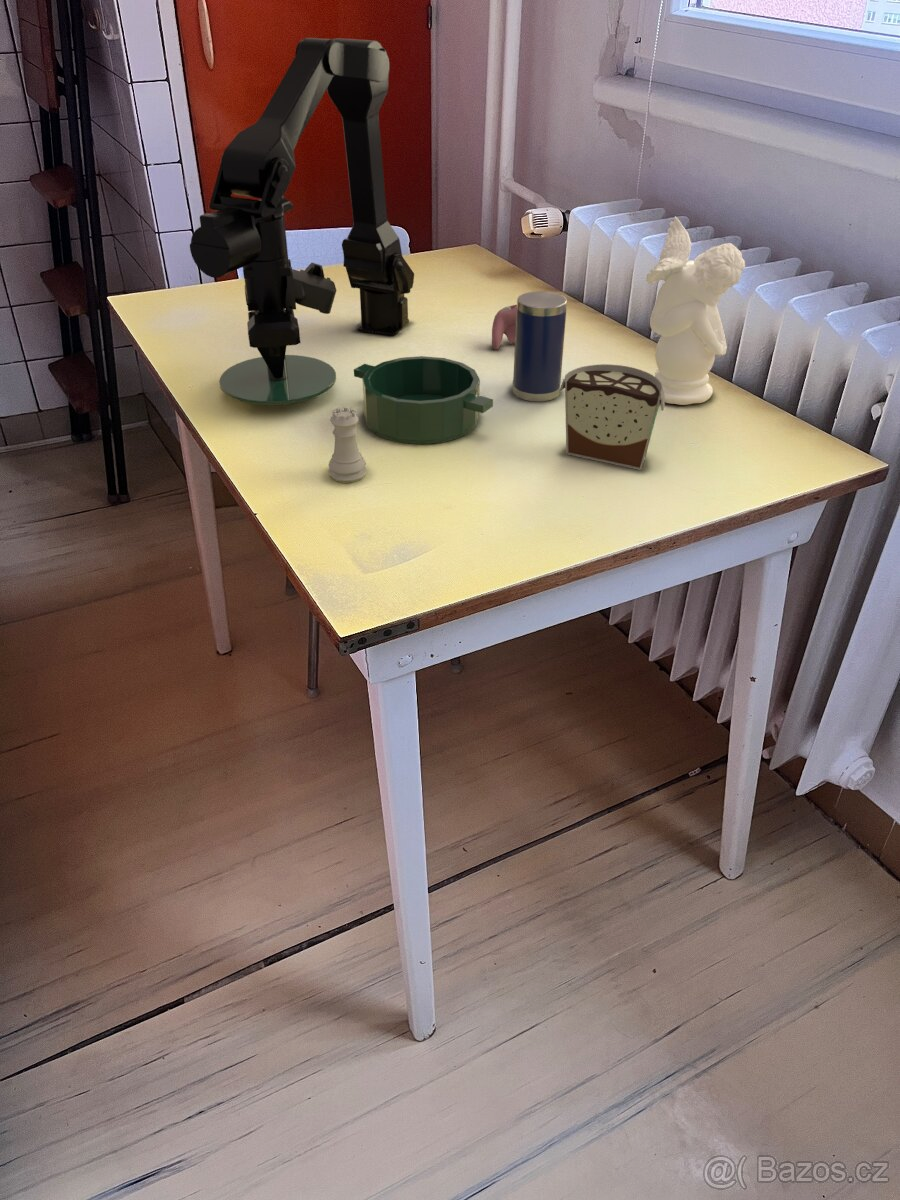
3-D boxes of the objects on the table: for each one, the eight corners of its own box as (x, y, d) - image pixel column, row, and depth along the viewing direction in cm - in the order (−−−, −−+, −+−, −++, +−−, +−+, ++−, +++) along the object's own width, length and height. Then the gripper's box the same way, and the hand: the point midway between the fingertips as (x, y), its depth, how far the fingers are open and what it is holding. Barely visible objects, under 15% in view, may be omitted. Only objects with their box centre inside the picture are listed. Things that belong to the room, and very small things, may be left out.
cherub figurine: (731, 401, 126) (764, 232, 113) (658, 421, 121) (684, 246, 108) (672, 370, 135) (696, 209, 121) (602, 387, 130) (620, 222, 117)
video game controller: (555, 354, 143) (559, 306, 142) (556, 351, 139) (559, 302, 138) (491, 351, 144) (494, 304, 143) (490, 348, 139) (492, 300, 138)
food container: (666, 450, 115) (679, 373, 109) (653, 472, 110) (665, 393, 104) (571, 431, 119) (578, 355, 113) (554, 451, 114) (561, 374, 108)
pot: (455, 461, 112) (455, 418, 109) (326, 419, 121) (323, 379, 118) (516, 417, 122) (518, 377, 119) (393, 382, 131) (391, 344, 128)
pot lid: (283, 419, 118) (278, 377, 115) (195, 390, 125) (188, 350, 122) (359, 378, 129) (357, 339, 125) (274, 353, 136) (270, 315, 132)
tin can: (507, 398, 127) (511, 304, 119) (519, 379, 132) (524, 288, 124) (553, 404, 125) (560, 310, 117) (564, 386, 130) (572, 294, 122)
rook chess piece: (337, 487, 107) (332, 423, 102) (323, 470, 110) (317, 407, 105) (373, 478, 108) (370, 415, 104) (358, 462, 112) (354, 400, 107)
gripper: (336, 274, 111) (345, 397, 120) (322, 231, 125) (331, 343, 135) (241, 279, 109) (257, 404, 118) (238, 235, 123) (252, 349, 133)
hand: (277, 373), depth 126 cm, fingers closed on pot lid, 2 cm apart
